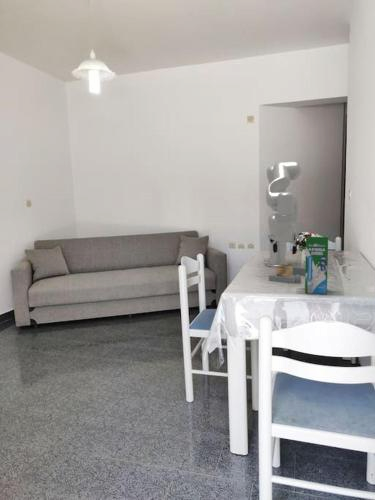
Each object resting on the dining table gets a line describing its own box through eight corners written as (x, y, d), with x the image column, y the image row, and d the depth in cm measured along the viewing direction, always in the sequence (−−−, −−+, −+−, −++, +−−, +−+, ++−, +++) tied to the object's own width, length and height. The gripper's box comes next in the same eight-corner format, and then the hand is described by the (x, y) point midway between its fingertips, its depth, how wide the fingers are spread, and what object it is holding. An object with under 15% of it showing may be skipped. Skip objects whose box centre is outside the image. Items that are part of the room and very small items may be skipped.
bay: (268, 282, 190) (268, 272, 189) (284, 275, 206) (284, 266, 205) (298, 286, 181) (298, 275, 181) (312, 278, 197) (312, 268, 196)
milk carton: (326, 289, 174) (328, 234, 171) (326, 294, 166) (328, 236, 162) (305, 288, 177) (306, 234, 174) (304, 293, 169) (306, 236, 165)
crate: (276, 280, 190) (276, 266, 189) (281, 278, 195) (281, 264, 194) (288, 281, 186) (288, 267, 185) (292, 279, 191) (293, 265, 190)
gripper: (265, 218, 189) (265, 253, 191) (299, 219, 178) (299, 255, 181) (271, 217, 194) (271, 250, 197) (305, 218, 184) (304, 253, 187)
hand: (284, 253), depth 189 cm, fingers open, 9 cm apart
